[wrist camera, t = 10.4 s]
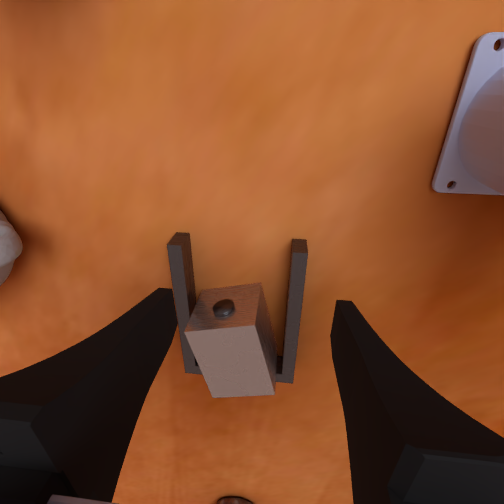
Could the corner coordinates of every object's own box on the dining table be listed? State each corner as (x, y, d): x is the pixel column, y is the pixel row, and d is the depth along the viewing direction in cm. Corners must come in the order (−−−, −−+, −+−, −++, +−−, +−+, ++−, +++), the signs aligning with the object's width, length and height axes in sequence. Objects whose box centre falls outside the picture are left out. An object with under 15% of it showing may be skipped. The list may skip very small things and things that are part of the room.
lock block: (260, 278, 24) (253, 321, 19) (277, 345, 27) (275, 394, 23) (201, 286, 25) (182, 328, 20) (224, 349, 28) (212, 397, 24)
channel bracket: (306, 239, 21) (307, 253, 20) (292, 364, 28) (293, 383, 26) (176, 232, 22) (166, 244, 21) (191, 355, 29) (185, 372, 27)
